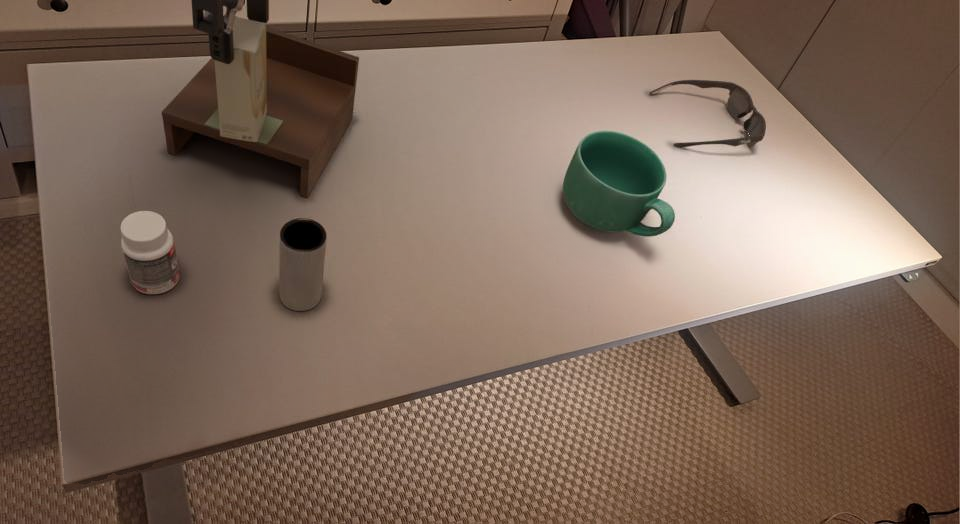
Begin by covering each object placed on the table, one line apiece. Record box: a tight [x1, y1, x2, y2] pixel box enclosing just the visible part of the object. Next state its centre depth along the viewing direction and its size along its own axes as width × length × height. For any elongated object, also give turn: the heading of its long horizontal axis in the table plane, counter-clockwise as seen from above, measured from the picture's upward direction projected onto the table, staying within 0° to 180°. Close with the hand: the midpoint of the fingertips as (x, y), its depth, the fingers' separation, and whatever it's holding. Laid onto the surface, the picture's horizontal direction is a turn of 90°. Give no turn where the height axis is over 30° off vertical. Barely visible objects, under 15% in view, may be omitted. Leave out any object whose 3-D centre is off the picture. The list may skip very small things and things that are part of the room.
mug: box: [562, 130, 676, 238], centre depth 89 cm, size 17×13×10 cm
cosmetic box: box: [215, 16, 267, 142], centre depth 74 cm, size 6×4×12 cm
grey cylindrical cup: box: [278, 217, 328, 312], centre depth 69 cm, size 4×4×10 cm
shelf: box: [161, 14, 360, 199], centre depth 84 cm, size 17×18×10 cm
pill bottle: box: [120, 210, 181, 295], centre depth 67 cm, size 5×5×8 cm
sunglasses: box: [649, 79, 767, 149], centre depth 113 cm, size 16×17×5 cm
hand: (241, 40), depth 70 cm, fingers open, 8 cm apart
